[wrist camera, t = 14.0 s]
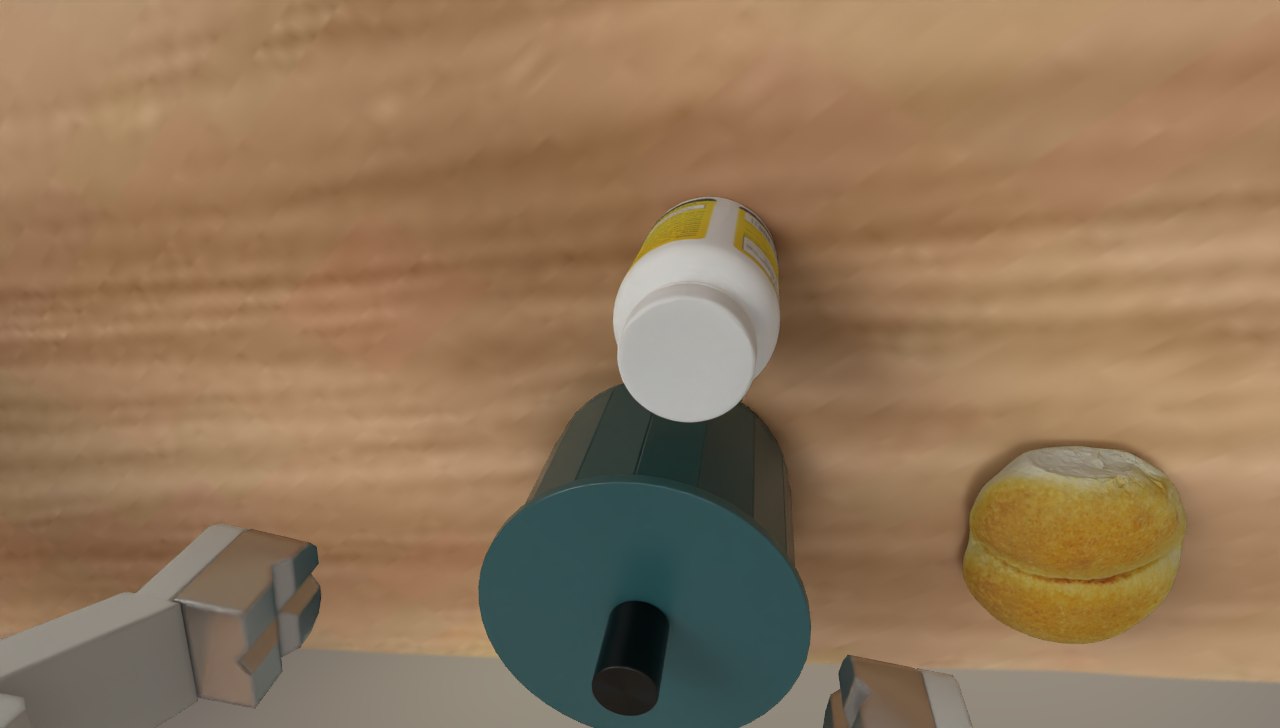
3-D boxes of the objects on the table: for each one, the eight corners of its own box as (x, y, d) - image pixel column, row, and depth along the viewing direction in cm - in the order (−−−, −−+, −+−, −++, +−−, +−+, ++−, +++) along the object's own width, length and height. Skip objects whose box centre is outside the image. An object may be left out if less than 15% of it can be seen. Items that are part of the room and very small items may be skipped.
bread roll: (952, 604, 34) (973, 671, 31) (970, 440, 31) (997, 493, 27) (1145, 612, 33) (1191, 683, 29) (1188, 441, 29) (1247, 498, 26)
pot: (546, 549, 37) (488, 685, 29) (566, 355, 32) (503, 457, 24) (760, 596, 36) (759, 748, 28) (814, 403, 31) (829, 524, 24)
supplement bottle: (628, 299, 31) (570, 407, 22) (667, 175, 28) (620, 241, 19) (750, 341, 30) (742, 467, 22) (799, 220, 28) (812, 307, 19)
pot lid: (481, 679, 30) (441, 770, 26) (496, 432, 25) (449, 502, 21) (769, 746, 29) (770, 850, 25) (847, 504, 24) (862, 591, 20)
